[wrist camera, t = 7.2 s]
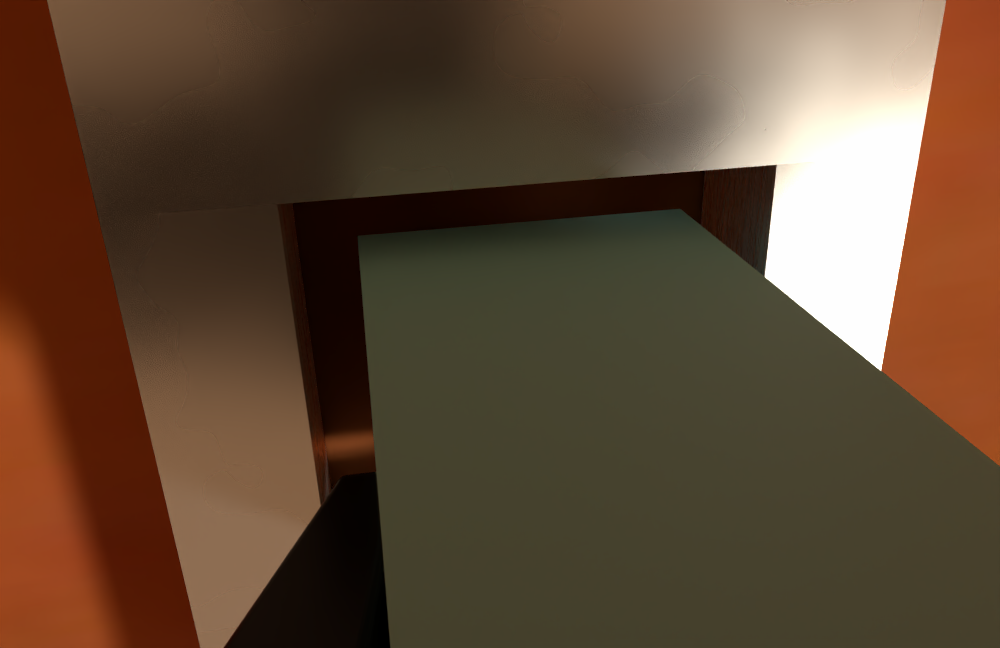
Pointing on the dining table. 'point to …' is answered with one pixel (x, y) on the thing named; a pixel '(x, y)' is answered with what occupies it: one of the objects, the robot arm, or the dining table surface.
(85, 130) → the square hole board
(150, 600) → the dining table surface
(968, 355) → the dining table surface
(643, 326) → the square peg
